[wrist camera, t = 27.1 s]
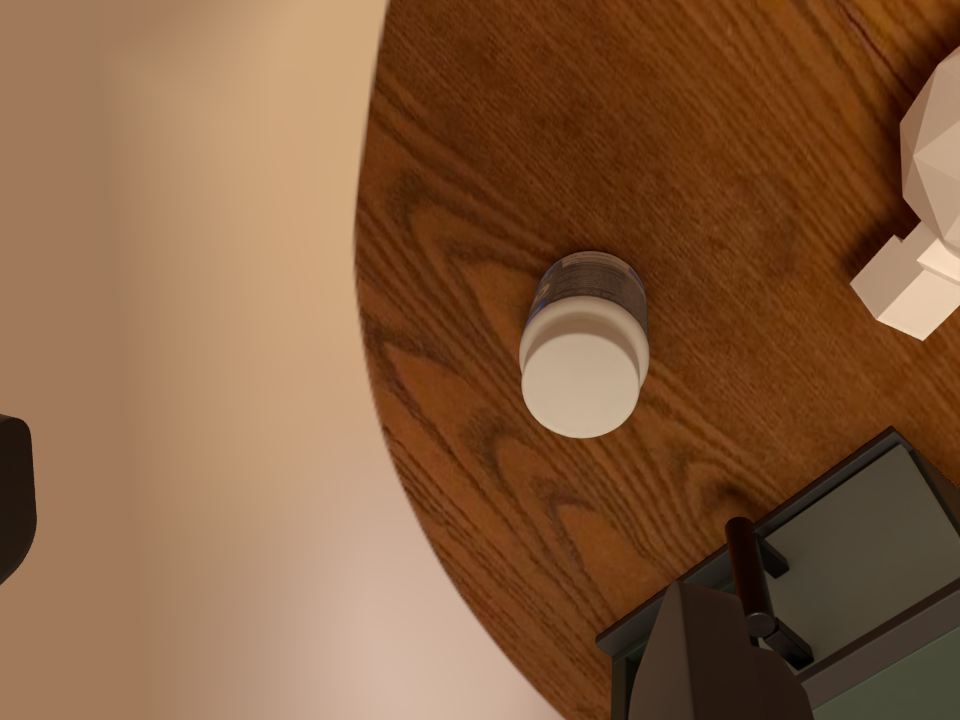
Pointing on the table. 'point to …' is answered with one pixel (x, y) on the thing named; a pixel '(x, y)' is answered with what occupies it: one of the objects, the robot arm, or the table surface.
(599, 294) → the pill bottle
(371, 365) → the table surface
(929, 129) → the perfume bottle
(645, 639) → the cabinet
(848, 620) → the door
